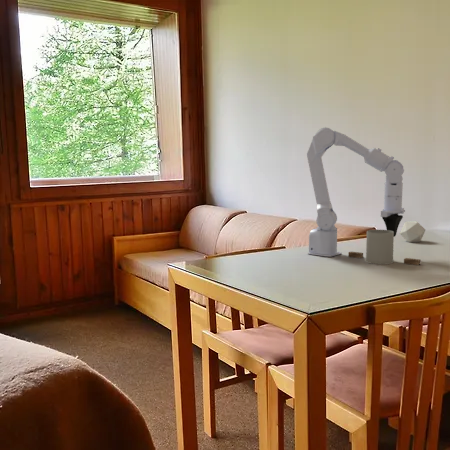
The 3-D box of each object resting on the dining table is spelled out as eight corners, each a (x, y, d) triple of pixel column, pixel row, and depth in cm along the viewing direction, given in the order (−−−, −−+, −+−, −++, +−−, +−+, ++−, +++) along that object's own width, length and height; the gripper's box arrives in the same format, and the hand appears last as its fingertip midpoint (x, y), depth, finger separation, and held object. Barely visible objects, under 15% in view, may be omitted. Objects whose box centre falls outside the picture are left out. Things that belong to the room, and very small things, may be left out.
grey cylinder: (396, 260, 166) (397, 230, 164) (387, 265, 159) (388, 234, 158) (371, 258, 171) (372, 229, 170) (362, 262, 164) (362, 231, 163)
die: (424, 245, 199) (432, 224, 202) (404, 234, 198) (412, 213, 201) (412, 249, 207) (420, 229, 210) (393, 239, 206) (401, 218, 209)
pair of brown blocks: (348, 256, 174) (348, 252, 174) (351, 255, 176) (351, 251, 176) (417, 265, 158) (418, 260, 158) (420, 264, 160) (420, 259, 160)
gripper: (396, 198, 162) (394, 240, 163) (413, 195, 173) (411, 234, 174) (375, 197, 166) (373, 238, 168) (393, 194, 177) (391, 233, 179)
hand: (391, 236), depth 171 cm, fingers closed
